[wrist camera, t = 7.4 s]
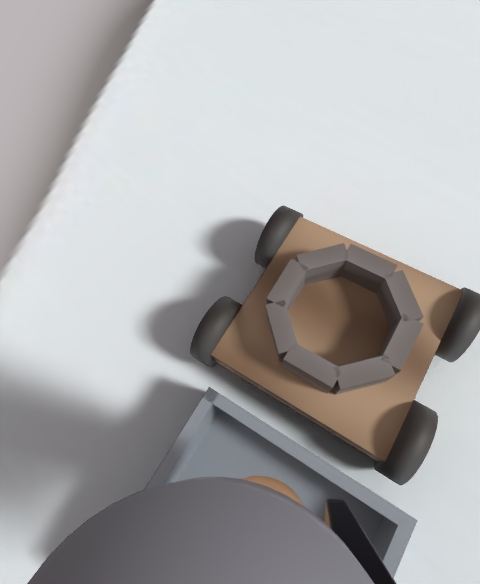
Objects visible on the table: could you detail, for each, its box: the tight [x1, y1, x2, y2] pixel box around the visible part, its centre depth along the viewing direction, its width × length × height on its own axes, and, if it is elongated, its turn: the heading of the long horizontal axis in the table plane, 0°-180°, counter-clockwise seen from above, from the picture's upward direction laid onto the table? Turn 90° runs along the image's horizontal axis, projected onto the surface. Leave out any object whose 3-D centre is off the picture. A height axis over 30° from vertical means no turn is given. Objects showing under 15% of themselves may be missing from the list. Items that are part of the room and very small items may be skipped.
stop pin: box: [28, 476, 374, 584], centre depth 9 cm, size 4×4×11 cm
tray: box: [145, 387, 417, 578], centre depth 18 cm, size 11×11×4 cm
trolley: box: [190, 206, 480, 485], centre depth 21 cm, size 11×12×5 cm
